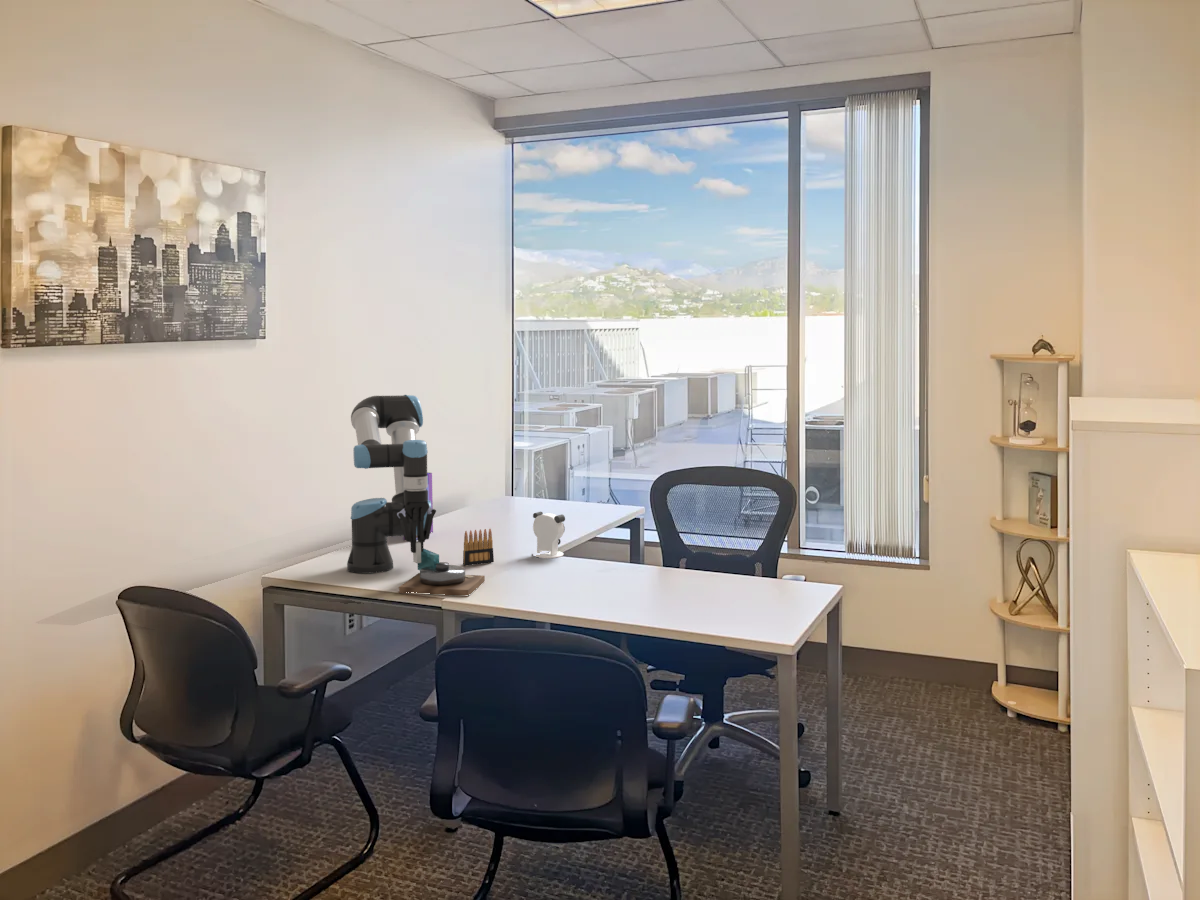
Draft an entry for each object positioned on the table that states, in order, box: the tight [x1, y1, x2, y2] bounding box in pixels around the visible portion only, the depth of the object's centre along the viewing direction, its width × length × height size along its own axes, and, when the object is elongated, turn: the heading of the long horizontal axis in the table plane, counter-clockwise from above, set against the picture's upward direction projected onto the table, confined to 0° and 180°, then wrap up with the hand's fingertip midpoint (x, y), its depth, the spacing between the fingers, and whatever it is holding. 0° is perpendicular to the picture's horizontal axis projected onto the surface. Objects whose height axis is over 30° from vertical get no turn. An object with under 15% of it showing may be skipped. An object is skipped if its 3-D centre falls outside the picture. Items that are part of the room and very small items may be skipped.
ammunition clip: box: [462, 528, 495, 566], centre depth 345 cm, size 11×2×12 cm, turn 118°
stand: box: [398, 572, 486, 596], centre depth 314 cm, size 22×18×2 cm
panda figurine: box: [532, 511, 566, 559], centre depth 358 cm, size 12×11×15 cm
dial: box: [417, 547, 466, 585], centre depth 317 cm, size 23×14×7 cm, turn 36°
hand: (417, 562), depth 320 cm, fingers closed
